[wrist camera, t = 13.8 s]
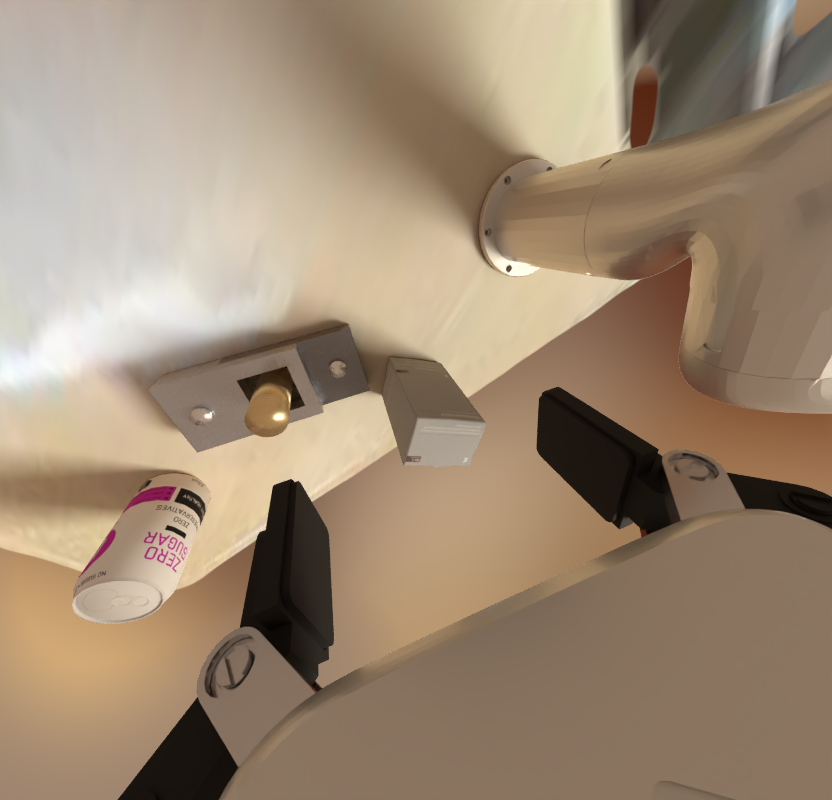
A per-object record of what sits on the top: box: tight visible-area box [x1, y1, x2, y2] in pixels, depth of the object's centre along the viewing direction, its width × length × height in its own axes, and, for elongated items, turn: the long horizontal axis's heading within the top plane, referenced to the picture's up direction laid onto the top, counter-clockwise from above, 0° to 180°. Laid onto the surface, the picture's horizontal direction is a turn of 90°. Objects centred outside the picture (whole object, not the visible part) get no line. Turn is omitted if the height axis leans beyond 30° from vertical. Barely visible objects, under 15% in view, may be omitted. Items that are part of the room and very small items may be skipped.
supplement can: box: [72, 473, 211, 624], centre depth 35 cm, size 8×8×15 cm
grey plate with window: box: [148, 324, 369, 452], centre depth 36 cm, size 22×9×5 cm, turn 101°
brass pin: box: [244, 367, 293, 437], centre depth 34 cm, size 4×4×10 cm
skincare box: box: [382, 357, 486, 468], centre depth 37 cm, size 8×7×16 cm
